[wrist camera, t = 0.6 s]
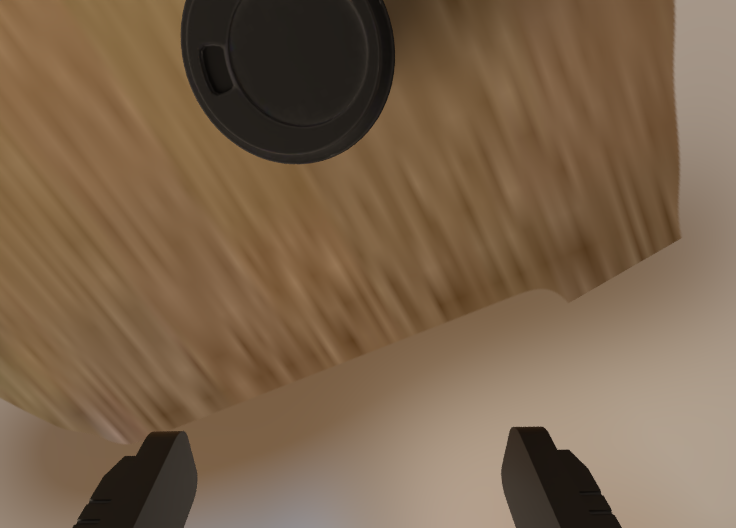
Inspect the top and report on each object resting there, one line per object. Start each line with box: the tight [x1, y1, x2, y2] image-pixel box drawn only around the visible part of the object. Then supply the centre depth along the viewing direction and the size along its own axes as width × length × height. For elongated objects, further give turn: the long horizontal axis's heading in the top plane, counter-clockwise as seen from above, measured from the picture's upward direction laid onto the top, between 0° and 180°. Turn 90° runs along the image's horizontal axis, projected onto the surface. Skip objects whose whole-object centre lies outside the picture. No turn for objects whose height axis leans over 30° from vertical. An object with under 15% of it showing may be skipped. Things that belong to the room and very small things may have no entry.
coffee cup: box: [181, 0, 395, 164], centre depth 24 cm, size 9×9×15 cm
